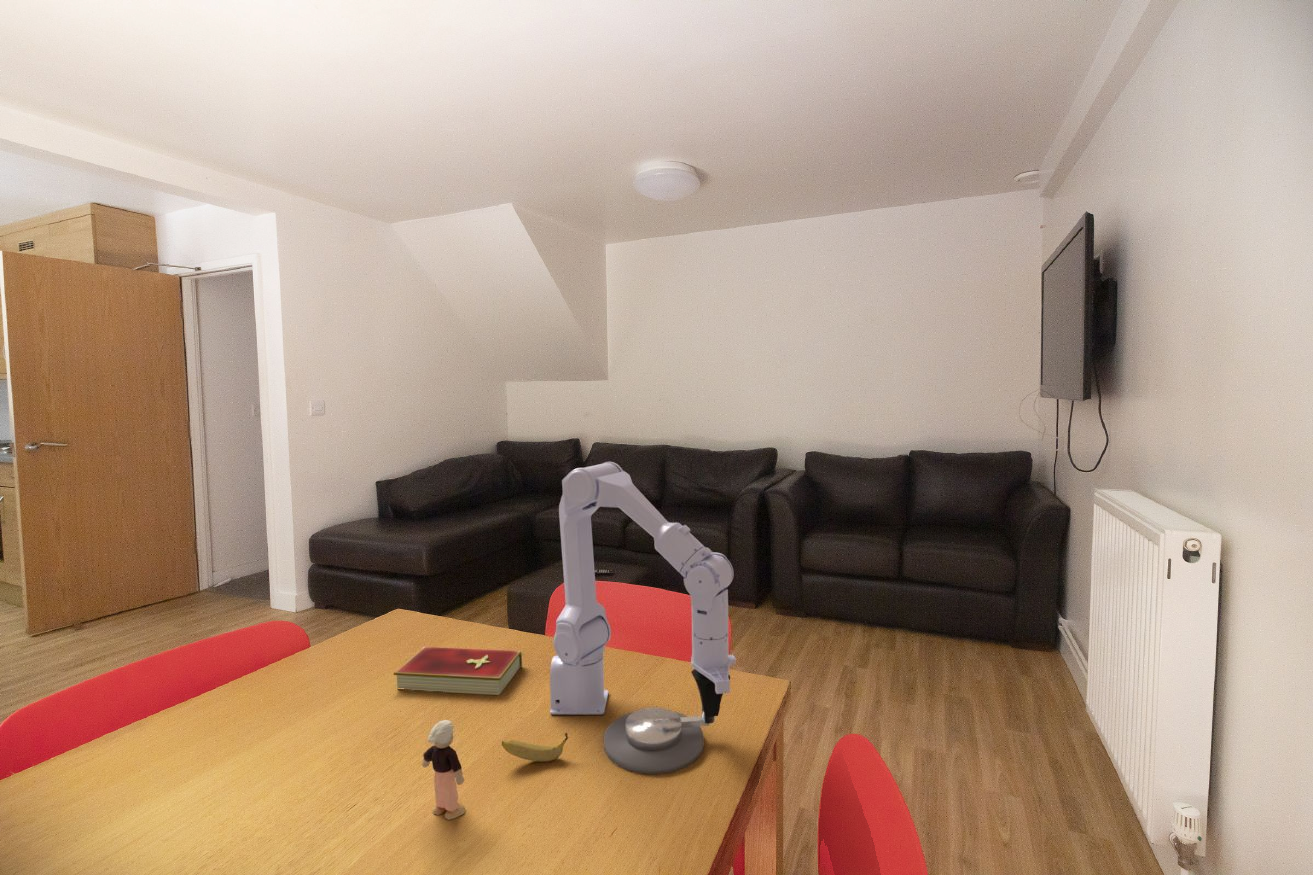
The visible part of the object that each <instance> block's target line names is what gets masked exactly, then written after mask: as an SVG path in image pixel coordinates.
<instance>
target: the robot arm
mask: <svg viewBox="0 0 1313 875" xmlns="http://www.w3.org/2000/svg"><path fill="white" fill-rule="evenodd" d="M561 485H562V486H561V487H562V495H561V497H560V502H559V505H558V514H559V515H558V516H559V531H560V545H561V557H562V569H563V570H562V571H563V574H562V575H563V584H564V585H563V586H564V597H565V598H564V601H565V606H564V607H563V609H562V611H561V612H560V613H559V616H558V617H557V619H556V621H555V629H556V630H555V633H554V636H553V643H552V644H553V645H552V646H553V648H554V651H555V653H556V655H553V656H552V659H551V663H550V672H549V689H550V691H549V692H550V711H549V712H550V714H551V715H604V713H605V711H606V706H607V702H608V697H609V690H608V689H605V679H604V678H605V677H604V674H605V672H604V652H605V651H606V644H608V642H609V641H610V639H611V635H612V629H611V624H610V622H609V621H608V619H607V615H606V614H607V613H606V607H604V606H603V604H601V603H599V602H598V601H597V590H596V586H597V585H596V576H595V575H596V573H595V561H594V560H595V559H594V544H593V530H592V520H591V519H592V515H593V514H594V513H595V512H597V510H598V509H599V508H601V507H602V508H617V509H619V510H621V511H622V512H623V513H624V514H625V515H627V516H628V517H629V518H630V519H631V520H632V521H633V522H635V523H636V524H637V525H638V526H640V527H641V528H642V529H643V530H644V531H645V532H646V533H648V534H649V535H650V536H652V537H653V541H654V544H653V545H654V549H655V550H656V551H657V552H658V553H659V554H660V555H661V556H662V557H663V558H664V559H665V560H666V561H667V562H668V563H669V564H670V565H671V566H672V567H673V568H674V569H675V570H676V571H677V572H678V573H679V574H680V575H681V576H682V577H683V585H684V588H685V589H686V591H687V592H688V594H689V596H690V604H691V651H692V652H691V657H690V664H691V667H692V668H693V669H692V670H691V672H690V673H691V674H692V677H693V679H694V680H695V683H696V685H697V689H698V692H699V697H700V701H701V709H702V708H703V712H704V715H705V717H713V716H714V717H718V716H719V714H720V709H721V704H722V703H721V702H722V699H723V695H724V694H729V693H731V692H730V691H731V687H730V686H731V684H730V682H731V675H730V674H729V673H730V667H731V665H736V663H737V659H736V657H735V655H733V654H729V595H728V594H729V589H728V587H729V586H730V585H731V583H732V581H733V579H734V576H735V575H734V571H735V570H734V568H733V565H732V563H731V561H730V560H729V559H728V558H727V556H726V554H725V555H724V554H723V553H722V552H721V553H720V552H714V551H712V550H711V549H710V548H709V547H706V546H704V544H703V543H701V542H700V541H699V539H697V538H696V537H695V536H694V535H693V534H692V533H691V528H690V527H688V525H687V524H684V525H682V523H679V522H669V521H668V520H667V519H665V517H664V516H663V515H662V514H661V512H660V511H659V510H658V509H657V508H656V507H655V506H654V505H653V504H652V503H651V502H650V501H649V500H648V499H647V498H646V497H645V495H644V494H643V493H642V492H641V491H640V490H639V488H637V486H635V484H634V483H633V481H632V478H631V475H630V474H629V473H627V472H626V471H625V470H623V468H622V467H621V466H620V465H619V464H618V463H616V462H613V461H605V462H602V463H600V464H596V465H591V466H590V465H589V466H586V467H577V468H575V469H572V470H571V471H570V472H569V473H568V474H567V475H565V477H564V478H563V479H562V480H561Z"/></svg>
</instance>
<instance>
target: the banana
mask: <svg viewBox="0 0 1313 875" xmlns="http://www.w3.org/2000/svg"><path fill="white" fill-rule="evenodd" d="M568 735H569V734H568V732H565V733H564V736H565V738H564V739H563V740H562V742H561V743H558V744H554V745H544V744H534V743H528V742H524V741H520V740H517V739H509V740H502V742H501V746H502V748H503V749H504V751H506V752H507V753H508V754H509V755H512V756H513V757H514V756H515V757H516V758H520V759H523V760H527V761H532V762H540V763H541V762H544V763H545V762H551V761H554V760H557V759H558V758H560V756H561V755H562V754H563V751H564V750H563V748H564V746H565V744H566V742H567V741H568V739H569V736H568Z"/></svg>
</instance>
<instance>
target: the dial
mask: <svg viewBox="0 0 1313 875" xmlns="http://www.w3.org/2000/svg"><path fill="white" fill-rule="evenodd" d="M675 712H676V711H673V710H670V709H668V708H664V707H645V708H641V709H638V710H635V711H633V713H632V712H631V713H632V714H630V715H629V716H628V718H627V719H626V722H625V724H626V739H627V741H628V742H629V743H630V744H631V745H633V746H635V747H637V748H639V749H643V750H653V751H654V750H663V749H666V748H669V747H672V746H673V745H675V744H676V743H677V742H678V741H679V740H680V738H681V735H682V729H681V728H687V727H698V726H700V727H707V726H710V724H713V723H715V716H713V717H705V715H704V712H703V708H702V707H701V715H691V716H687V717H679V716H678V715H677V714H676V713H675Z"/></svg>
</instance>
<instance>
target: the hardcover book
mask: <svg viewBox="0 0 1313 875" xmlns="http://www.w3.org/2000/svg"><path fill="white" fill-rule="evenodd" d="M522 667H523V655H522V650H501V649H484V648H483V649H481V648H479V649H477V648H456V647H454V648H453V647H438V646H437V647H436V646H435V647H434V646H433V647H432V646H423V647H422V648H421V649H419V650H418V651H417V652H416V653H415V654H414V655H412V656H411V657H410V658H409V659H408V660H407V661H406V662H404V663H403V664H402V665H401V666H400V667H399V668H397V669H396V670H395V671H394V672H393V676H396V683H397V684H396V685H397V687H396V688H397V689H398V688H404V689H412V690H411V691H414V690H427V691H426V692H433V691H441V692H440V693H452V694H453V693H456V694H457V693H458V694H470V695H471V694H472V695H473V694H476V695H494V696H495V695H496V696H500V695H501V693H502V692H503V691H504V690H505V688H506V687H507V685H508V684H509V683H510V681H511V680H512V678H513V677H514V676H515V674H516V673H517V672H518V670H519V669H522ZM442 691H443V692H442Z"/></svg>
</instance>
